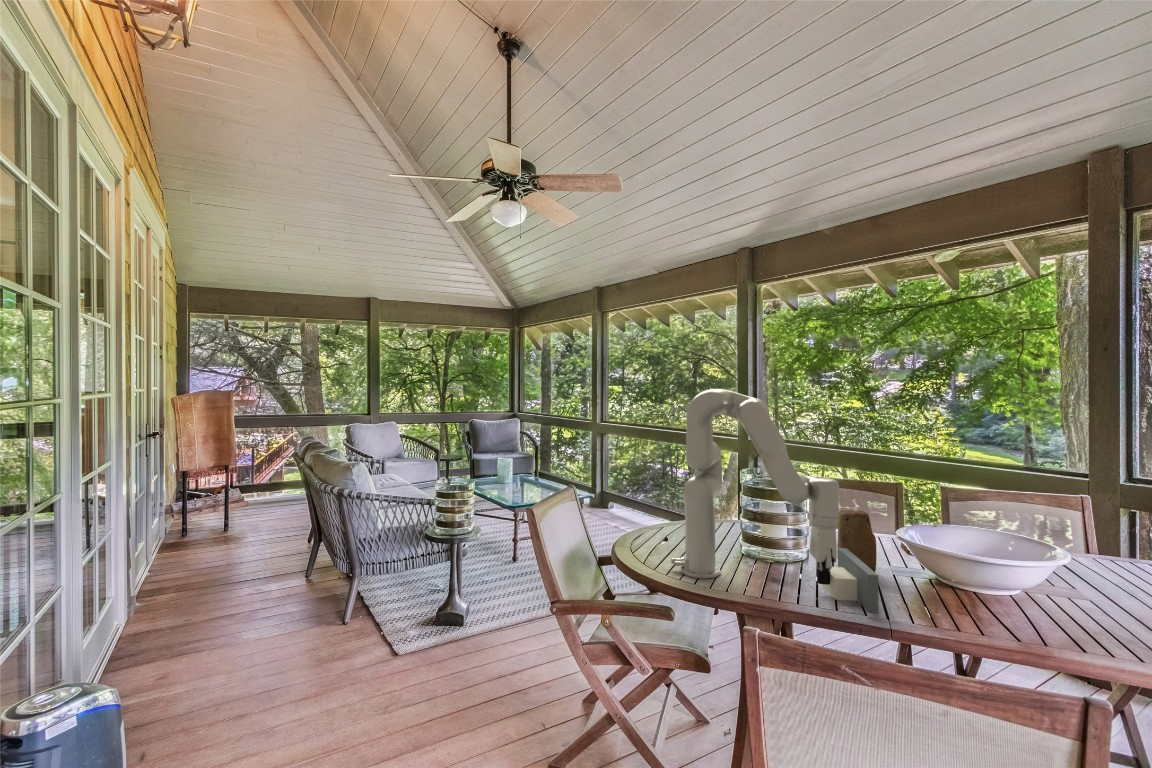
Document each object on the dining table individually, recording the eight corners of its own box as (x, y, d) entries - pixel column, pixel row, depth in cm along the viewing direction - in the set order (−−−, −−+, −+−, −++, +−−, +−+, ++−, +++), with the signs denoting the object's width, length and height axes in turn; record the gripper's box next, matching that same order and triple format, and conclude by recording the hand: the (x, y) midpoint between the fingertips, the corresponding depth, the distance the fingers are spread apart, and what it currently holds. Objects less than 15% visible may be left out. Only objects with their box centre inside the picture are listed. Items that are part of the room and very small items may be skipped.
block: (839, 575, 171) (839, 512, 171) (836, 567, 178) (836, 507, 178) (878, 579, 168) (877, 515, 168) (873, 571, 175) (873, 510, 175)
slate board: (868, 612, 144) (868, 574, 144) (837, 579, 167) (837, 547, 167) (878, 612, 143) (878, 575, 143) (846, 580, 167) (846, 548, 167)
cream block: (835, 599, 152) (835, 578, 152) (822, 586, 162) (822, 566, 162) (857, 600, 151) (857, 579, 152) (843, 587, 161) (843, 567, 161)
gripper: (803, 513, 165) (802, 573, 165) (818, 527, 150) (817, 592, 150) (829, 515, 163) (828, 575, 164) (847, 528, 149) (846, 594, 149)
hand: (823, 583), depth 157 cm, fingers closed
